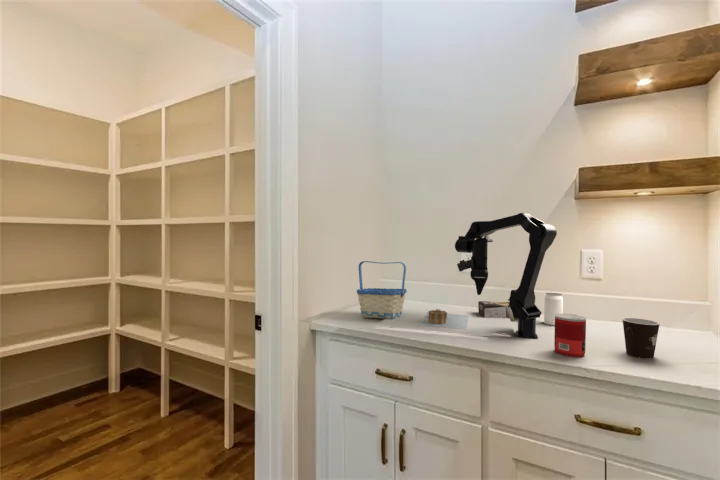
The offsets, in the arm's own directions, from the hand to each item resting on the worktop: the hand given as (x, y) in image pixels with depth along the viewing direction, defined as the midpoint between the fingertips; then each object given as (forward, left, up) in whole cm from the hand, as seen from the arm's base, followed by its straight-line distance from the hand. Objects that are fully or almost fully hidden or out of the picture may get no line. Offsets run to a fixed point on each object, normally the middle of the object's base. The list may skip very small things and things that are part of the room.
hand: (479, 293), depth 142 cm
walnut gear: (-2, +15, -11) cm, 19 cm away
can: (+10, -28, -12) cm, 32 cm away
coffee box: (+15, -17, -9) cm, 24 cm away
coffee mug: (-23, -44, -12) cm, 51 cm away
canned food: (-28, -26, -12) cm, 40 cm away
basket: (-4, +39, -12) cm, 41 cm away
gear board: (-4, +12, -12) cm, 18 cm away
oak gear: (-9, +15, -11) cm, 21 cm away
